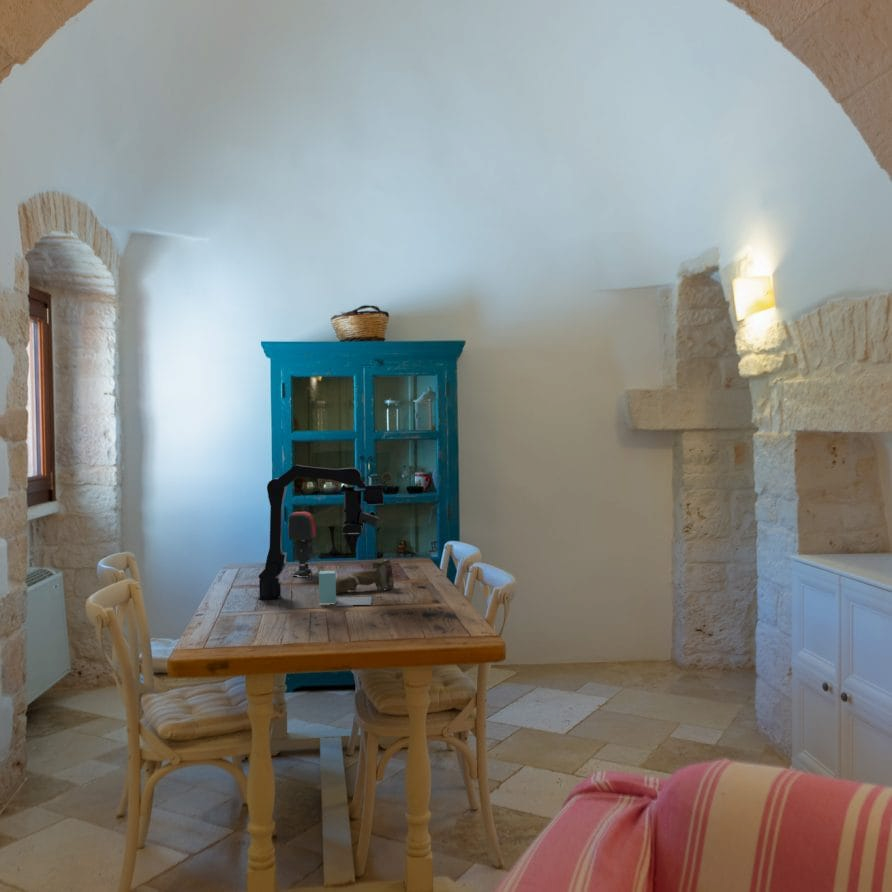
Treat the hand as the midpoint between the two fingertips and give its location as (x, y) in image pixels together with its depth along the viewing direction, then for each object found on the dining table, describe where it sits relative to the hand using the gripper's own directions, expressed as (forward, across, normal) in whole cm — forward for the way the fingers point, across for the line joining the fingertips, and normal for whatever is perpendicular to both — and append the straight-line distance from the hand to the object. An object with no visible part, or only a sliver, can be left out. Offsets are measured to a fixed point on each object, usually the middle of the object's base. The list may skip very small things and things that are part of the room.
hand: (353, 551), depth 281 cm
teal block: (+15, -12, +8) cm, 21 cm away
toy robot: (+15, +43, +22) cm, 50 cm away
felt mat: (+15, -12, 0) cm, 19 cm away
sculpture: (+15, +7, -2) cm, 17 cm away
